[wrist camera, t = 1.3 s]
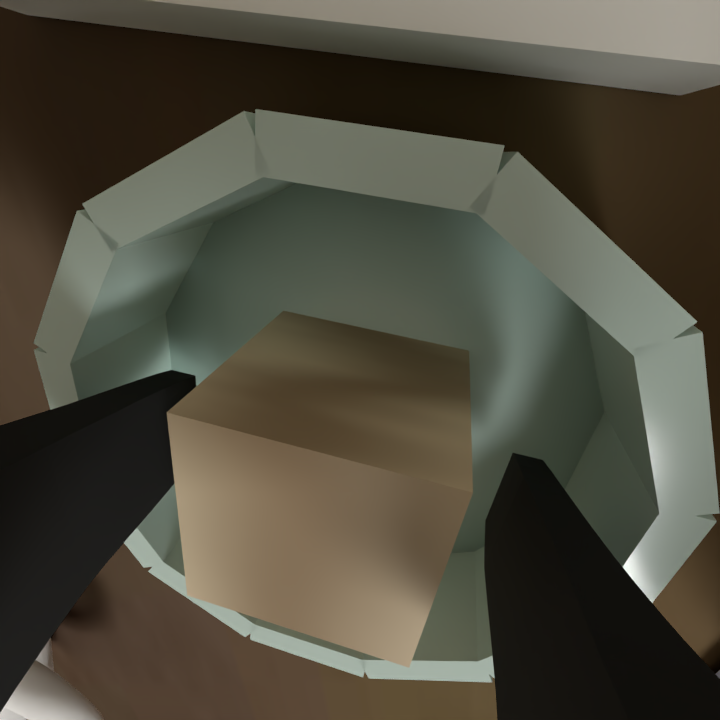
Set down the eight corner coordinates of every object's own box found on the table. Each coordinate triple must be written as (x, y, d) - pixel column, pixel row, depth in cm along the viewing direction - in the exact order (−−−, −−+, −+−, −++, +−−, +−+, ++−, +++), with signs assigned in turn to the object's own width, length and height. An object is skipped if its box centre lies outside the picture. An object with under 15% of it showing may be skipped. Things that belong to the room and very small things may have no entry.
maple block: (469, 350, 9) (473, 492, 5) (427, 492, 11) (409, 667, 8) (283, 310, 10) (166, 412, 6) (276, 452, 12) (187, 595, 8)
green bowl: (754, 188, 7) (962, 212, 4) (526, 604, 13) (545, 738, 10) (126, 94, 9) (-46, 65, 6) (174, 500, 15) (99, 589, 12)
